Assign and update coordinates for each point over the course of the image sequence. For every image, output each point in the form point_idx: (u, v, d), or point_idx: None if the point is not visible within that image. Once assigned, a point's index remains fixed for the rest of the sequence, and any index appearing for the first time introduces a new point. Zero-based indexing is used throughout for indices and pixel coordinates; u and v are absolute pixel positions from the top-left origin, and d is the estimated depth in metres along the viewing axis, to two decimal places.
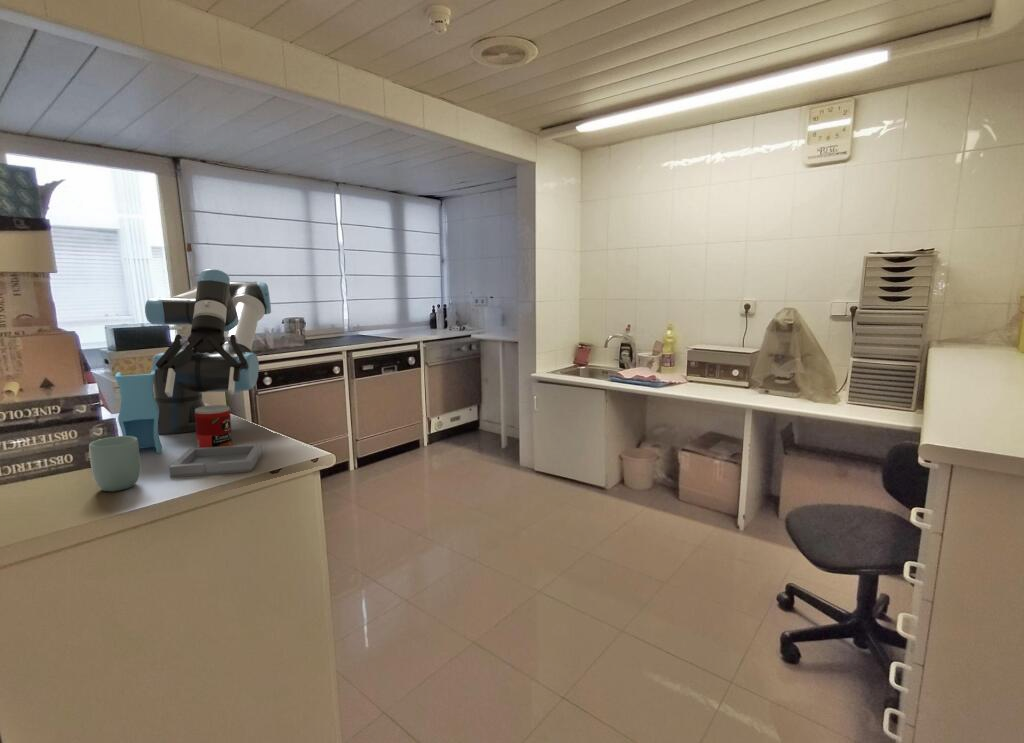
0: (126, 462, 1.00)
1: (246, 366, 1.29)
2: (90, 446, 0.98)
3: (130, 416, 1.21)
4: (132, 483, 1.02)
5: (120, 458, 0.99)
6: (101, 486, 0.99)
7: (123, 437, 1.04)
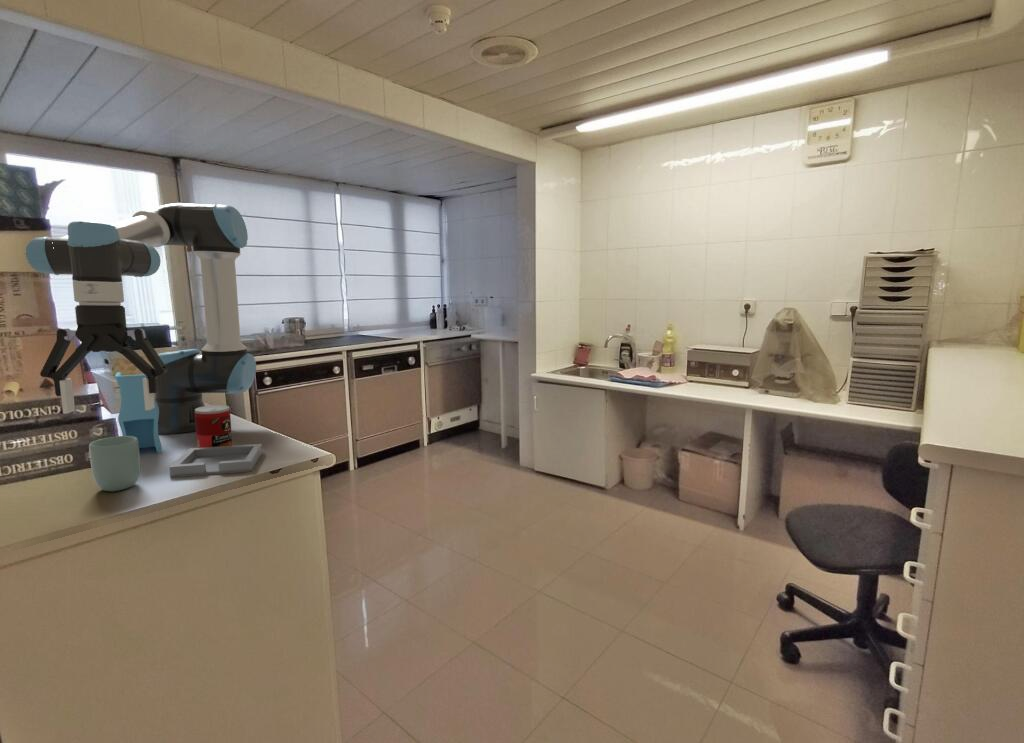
0: (126, 462, 1.00)
1: (164, 373, 1.02)
2: (90, 446, 0.98)
3: (130, 416, 1.21)
4: (132, 483, 1.02)
5: (120, 458, 0.99)
6: (101, 486, 0.99)
7: (123, 437, 1.04)
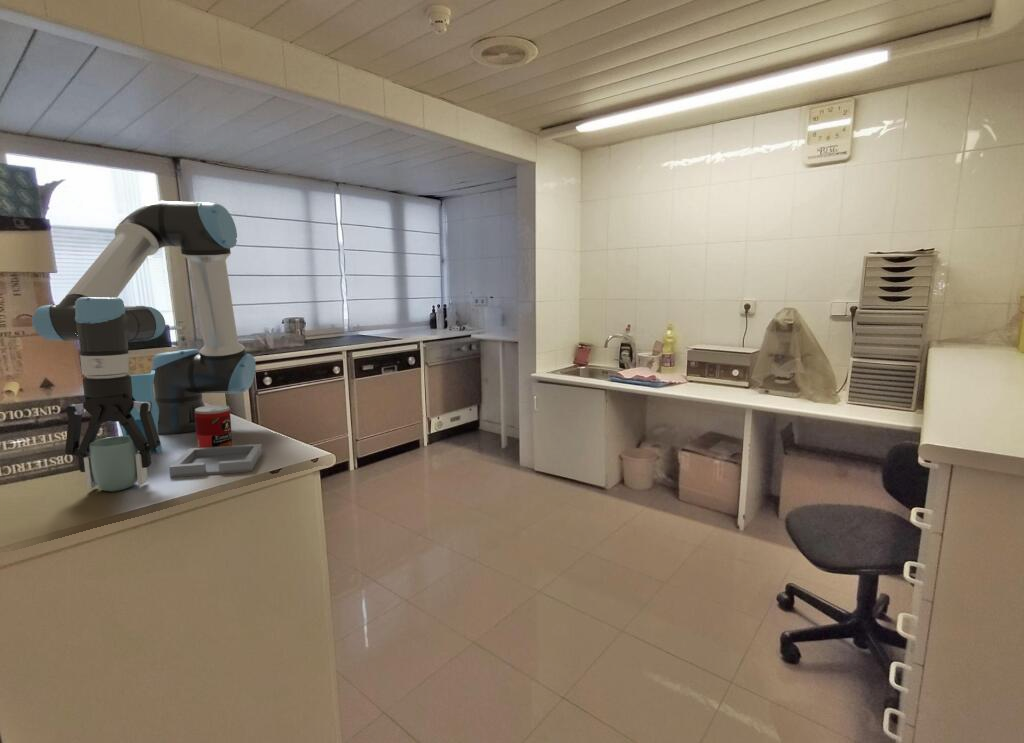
0: (126, 462, 1.00)
1: (156, 447, 1.03)
2: (90, 446, 0.98)
3: None
4: (132, 483, 1.02)
5: (120, 458, 0.99)
6: (101, 486, 0.99)
7: (123, 437, 1.04)
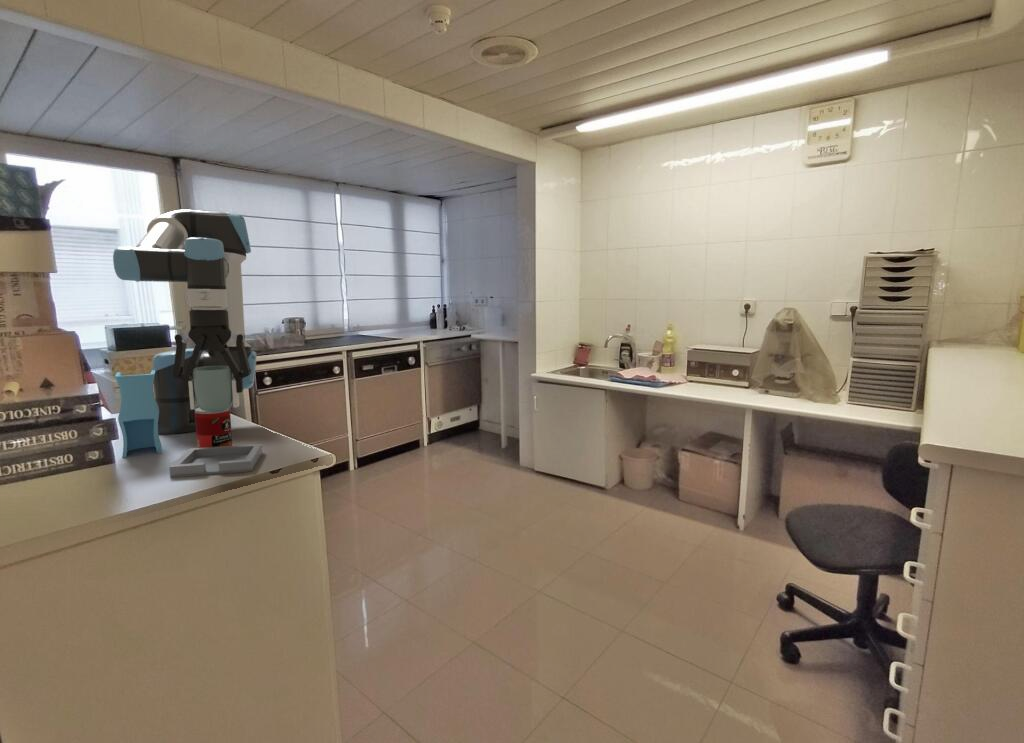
0: (224, 386, 1.13)
1: None
2: (194, 370, 1.11)
3: (130, 416, 1.21)
4: (228, 406, 1.15)
5: (220, 382, 1.12)
6: (203, 406, 1.12)
7: (218, 367, 1.17)
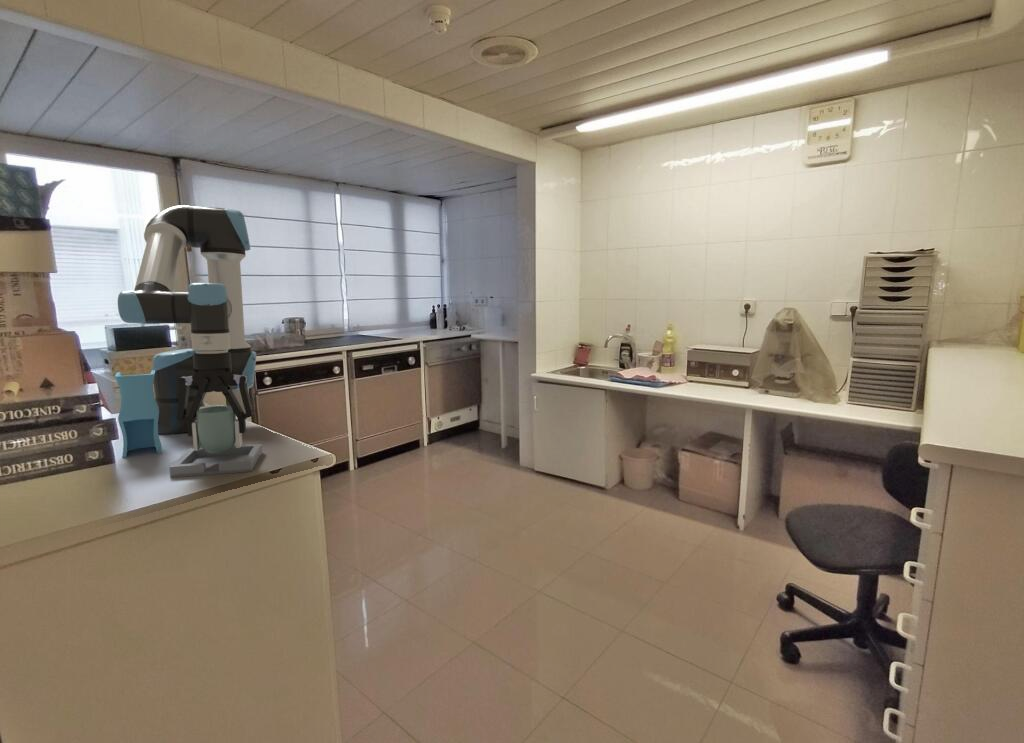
0: (227, 427, 1.14)
1: None
2: (198, 413, 1.12)
3: (130, 416, 1.21)
4: (231, 446, 1.16)
5: (223, 423, 1.13)
6: (207, 448, 1.13)
7: (221, 407, 1.19)
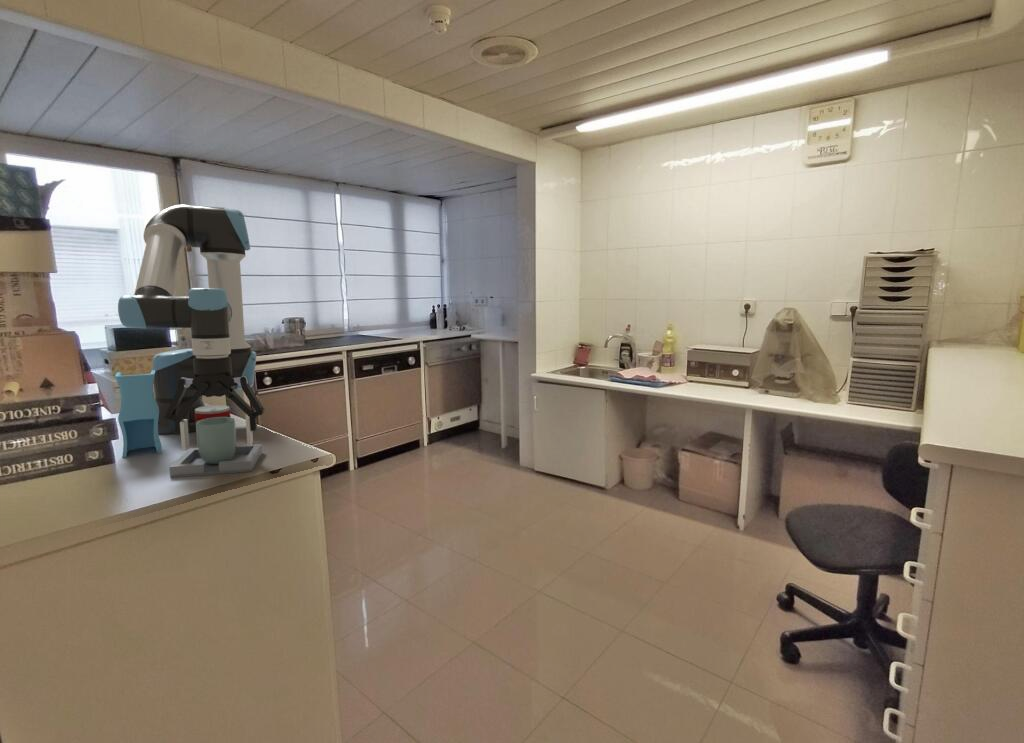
0: (227, 439, 1.15)
1: None
2: (198, 424, 1.13)
3: (130, 416, 1.21)
4: (231, 457, 1.17)
5: (223, 435, 1.14)
6: (206, 459, 1.14)
7: (221, 418, 1.19)
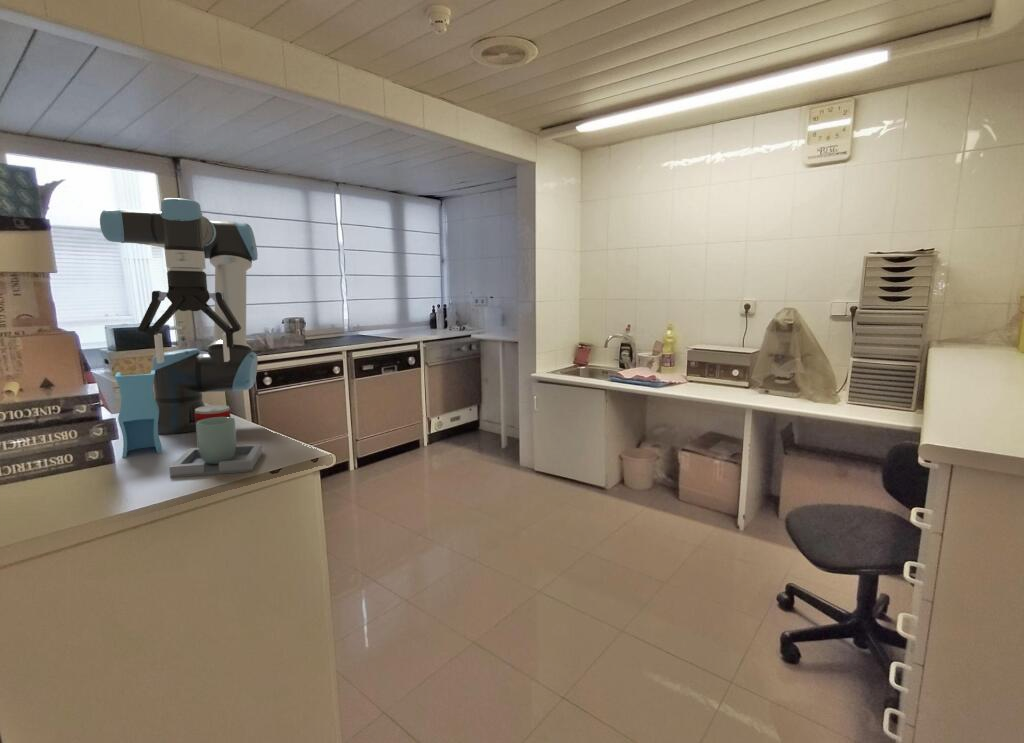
0: (227, 439, 1.15)
1: (239, 330, 1.19)
2: (198, 424, 1.13)
3: (130, 416, 1.21)
4: (231, 457, 1.17)
5: (223, 435, 1.14)
6: (206, 459, 1.14)
7: (221, 418, 1.19)
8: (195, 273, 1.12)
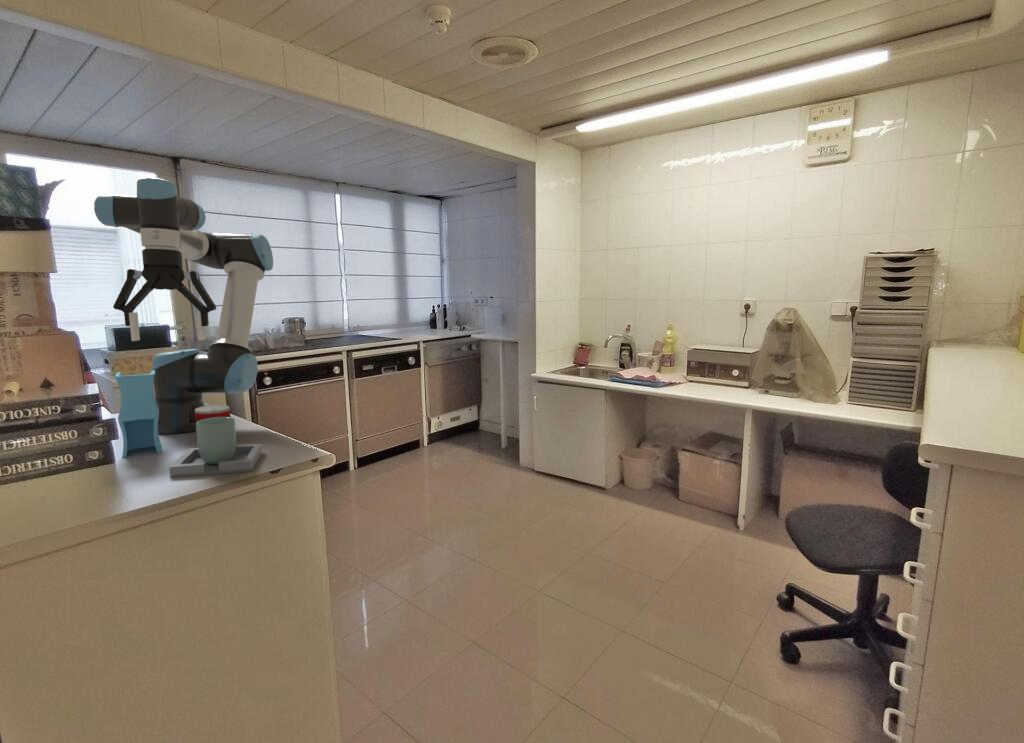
0: (227, 439, 1.15)
1: (213, 309, 1.20)
2: (198, 424, 1.13)
3: (130, 416, 1.21)
4: (231, 457, 1.17)
5: (223, 435, 1.14)
6: (206, 459, 1.14)
7: (221, 418, 1.19)
8: (169, 251, 1.14)
